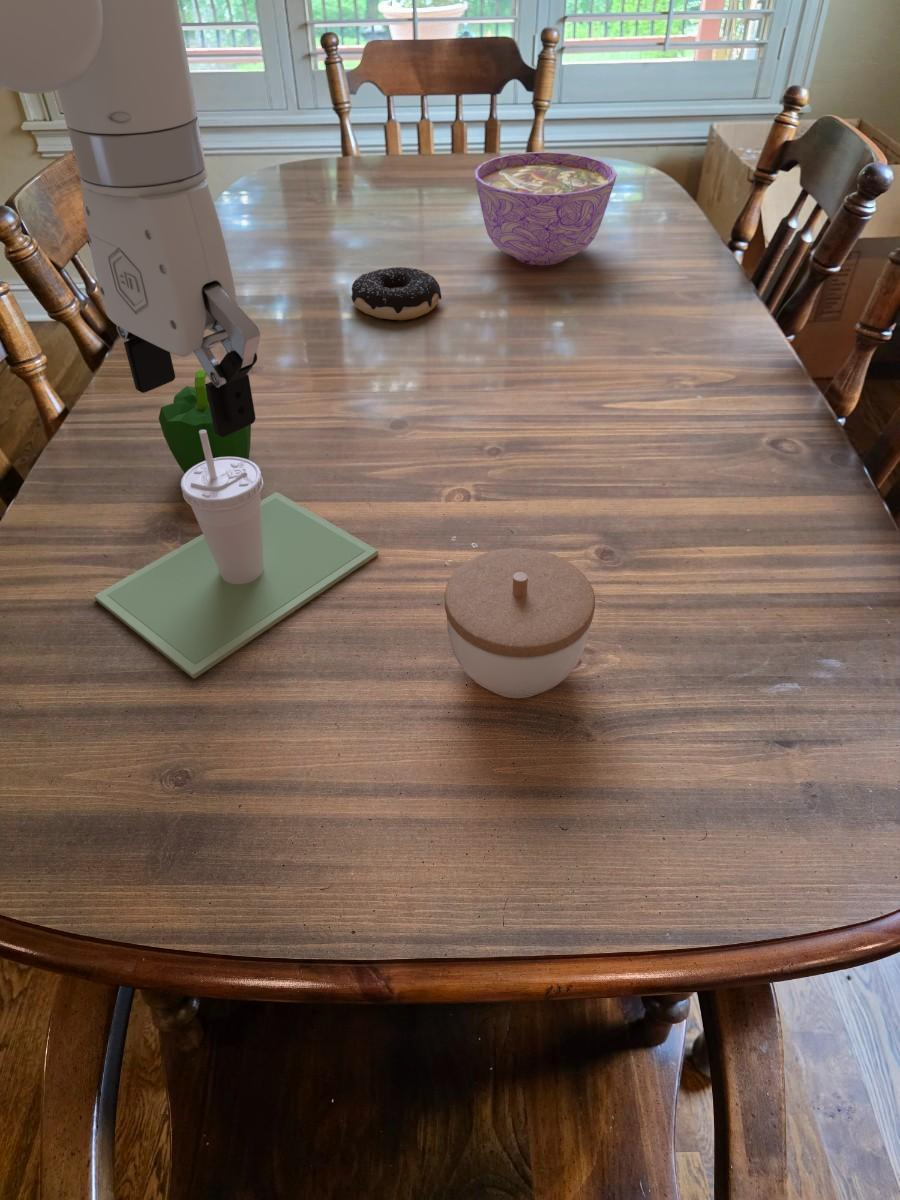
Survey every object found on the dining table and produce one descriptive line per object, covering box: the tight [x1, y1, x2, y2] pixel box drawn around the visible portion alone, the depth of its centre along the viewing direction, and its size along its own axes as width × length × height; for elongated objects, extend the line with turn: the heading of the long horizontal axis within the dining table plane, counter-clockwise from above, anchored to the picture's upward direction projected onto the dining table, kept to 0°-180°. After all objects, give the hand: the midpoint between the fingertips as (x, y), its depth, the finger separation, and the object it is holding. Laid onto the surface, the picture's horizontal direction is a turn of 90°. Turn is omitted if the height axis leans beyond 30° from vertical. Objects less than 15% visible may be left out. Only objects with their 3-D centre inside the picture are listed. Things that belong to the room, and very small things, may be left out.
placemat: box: [93, 491, 379, 680], centre depth 75 cm, size 20×14×1 cm
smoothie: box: [180, 430, 264, 584], centre depth 71 cm, size 6×6×14 cm
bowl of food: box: [474, 151, 618, 266], centre depth 126 cm, size 20×20×12 cm
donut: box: [350, 266, 442, 321], centre depth 116 cm, size 11×12×4 cm
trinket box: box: [444, 547, 596, 699], centre depth 64 cm, size 11×11×9 cm
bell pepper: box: [158, 368, 252, 474], centre depth 85 cm, size 8×8×10 cm
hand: (194, 406), depth 64 cm, fingers open, 9 cm apart
